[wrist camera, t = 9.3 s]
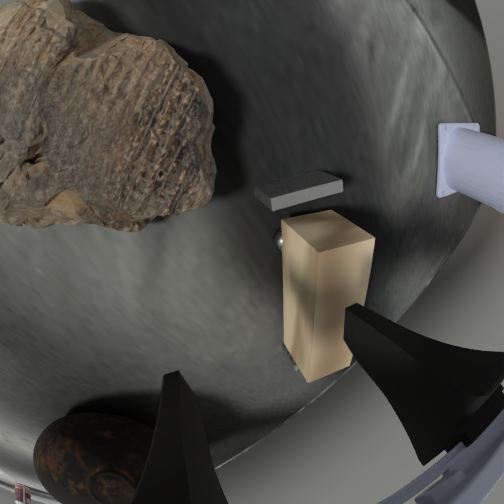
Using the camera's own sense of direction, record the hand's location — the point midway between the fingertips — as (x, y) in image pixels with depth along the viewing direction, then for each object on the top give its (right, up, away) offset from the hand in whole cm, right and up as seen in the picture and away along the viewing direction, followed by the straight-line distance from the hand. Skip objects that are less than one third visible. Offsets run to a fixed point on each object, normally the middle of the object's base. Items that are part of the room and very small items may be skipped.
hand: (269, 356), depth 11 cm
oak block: (+4, +2, +11) cm, 12 cm away
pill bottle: (-61, -57, +20) cm, 86 cm away
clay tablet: (-12, +12, +2) cm, 17 cm away
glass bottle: (-19, -17, +15) cm, 30 cm away
